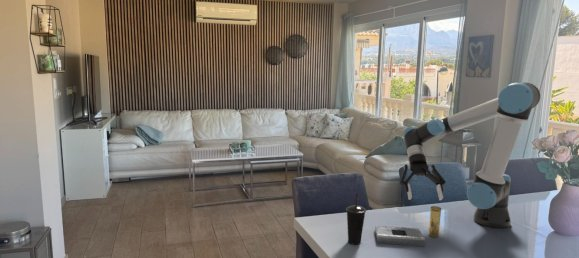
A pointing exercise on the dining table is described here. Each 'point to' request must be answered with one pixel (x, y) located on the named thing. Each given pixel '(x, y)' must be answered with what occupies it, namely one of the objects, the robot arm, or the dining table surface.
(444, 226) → the dining table surface
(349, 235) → the black tumbler with straw
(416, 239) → the jig
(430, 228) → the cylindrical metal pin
